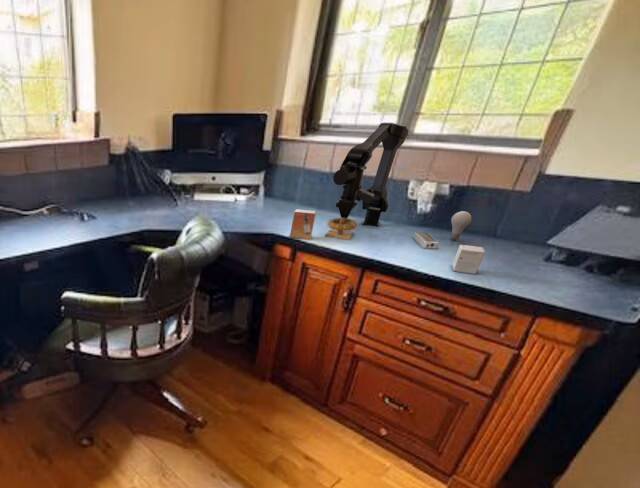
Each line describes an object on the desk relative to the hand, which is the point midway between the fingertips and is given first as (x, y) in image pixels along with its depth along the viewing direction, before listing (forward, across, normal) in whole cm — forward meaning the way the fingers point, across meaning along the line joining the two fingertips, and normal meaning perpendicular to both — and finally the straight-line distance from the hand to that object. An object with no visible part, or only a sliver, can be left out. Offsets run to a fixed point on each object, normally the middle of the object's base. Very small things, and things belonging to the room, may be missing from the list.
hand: (344, 221), depth 174 cm
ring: (0, -4, 0) cm, 4 cm away
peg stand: (+5, -4, 0) cm, 6 cm away
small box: (+5, -14, +13) cm, 20 cm away
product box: (+5, -27, -42) cm, 50 cm away
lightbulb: (+5, +11, -39) cm, 41 cm away
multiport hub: (+5, +1, -30) cm, 30 cm away
